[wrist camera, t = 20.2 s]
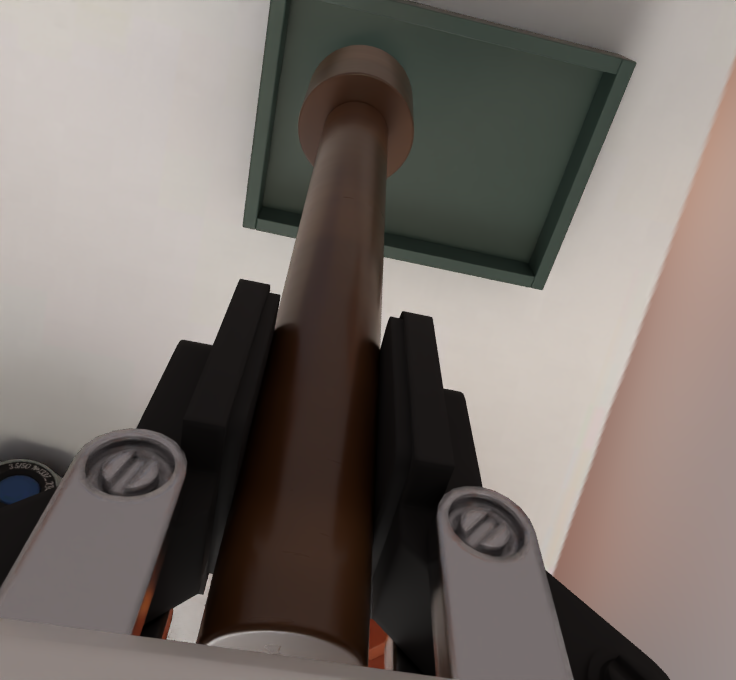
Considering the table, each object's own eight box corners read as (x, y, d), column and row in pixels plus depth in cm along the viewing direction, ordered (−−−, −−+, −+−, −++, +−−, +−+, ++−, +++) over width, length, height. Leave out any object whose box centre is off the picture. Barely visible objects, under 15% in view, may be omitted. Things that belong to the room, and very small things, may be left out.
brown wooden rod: (434, 88, 22) (507, 663, 7) (371, 168, 24) (324, 752, 9) (347, 20, 20) (211, 543, 6) (288, 110, 22) (74, 676, 8)
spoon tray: (619, 54, 26) (637, 62, 25) (533, 271, 32) (542, 290, 30) (281, -32, 25) (274, -30, 23) (250, 210, 30) (242, 227, 28)
